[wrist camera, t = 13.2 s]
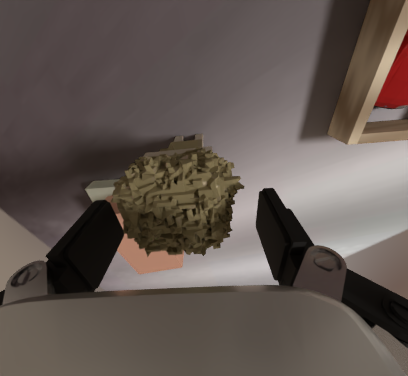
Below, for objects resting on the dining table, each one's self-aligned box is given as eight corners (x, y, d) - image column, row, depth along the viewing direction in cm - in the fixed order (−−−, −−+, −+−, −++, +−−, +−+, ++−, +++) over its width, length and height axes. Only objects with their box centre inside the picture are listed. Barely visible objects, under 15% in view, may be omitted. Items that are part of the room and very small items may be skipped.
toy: (169, 164, 23) (130, 276, 10) (157, 110, 19) (70, 185, 7) (225, 159, 22) (252, 269, 10) (223, 103, 19) (263, 168, 6)
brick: (107, 196, 23) (88, 220, 20) (154, 184, 22) (144, 207, 19) (147, 248, 30) (139, 274, 26) (184, 241, 29) (182, 267, 25)
